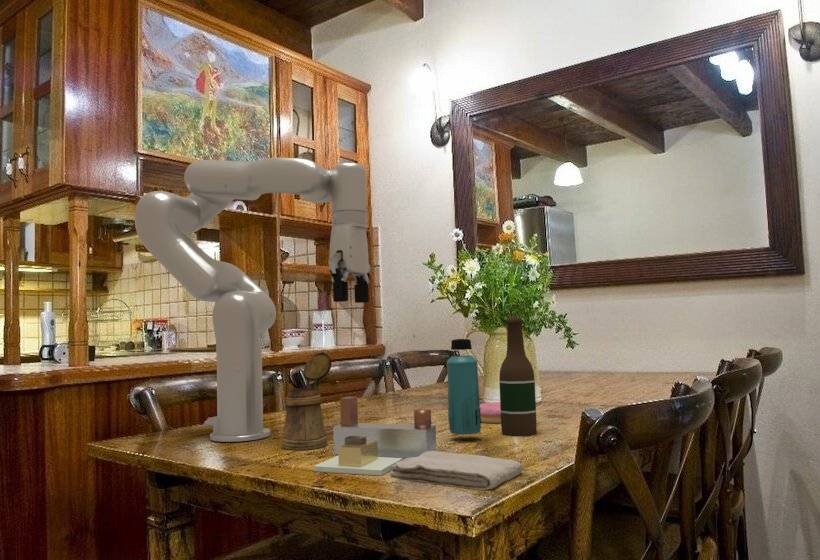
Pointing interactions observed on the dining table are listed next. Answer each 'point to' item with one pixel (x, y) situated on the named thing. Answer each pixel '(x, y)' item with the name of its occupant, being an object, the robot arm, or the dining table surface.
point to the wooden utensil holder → (306, 409)
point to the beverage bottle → (463, 391)
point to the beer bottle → (517, 385)
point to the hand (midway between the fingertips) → (351, 302)
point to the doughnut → (490, 412)
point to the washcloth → (457, 470)
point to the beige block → (357, 451)
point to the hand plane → (387, 432)
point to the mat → (372, 468)
